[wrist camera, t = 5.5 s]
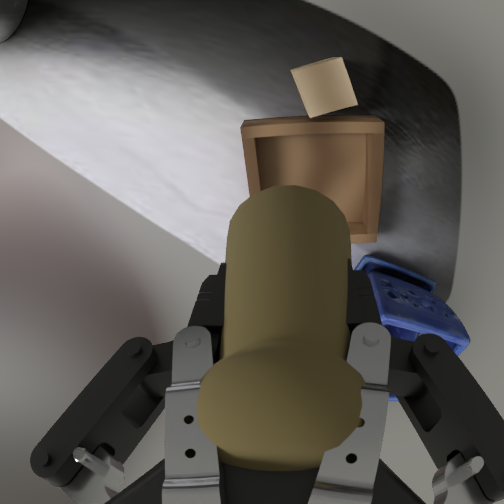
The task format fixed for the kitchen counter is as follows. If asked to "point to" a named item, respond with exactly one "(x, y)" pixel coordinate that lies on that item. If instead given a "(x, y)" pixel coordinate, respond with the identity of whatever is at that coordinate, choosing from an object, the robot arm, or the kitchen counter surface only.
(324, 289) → the cork
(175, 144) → the kitchen counter surface
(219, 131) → the kitchen counter surface
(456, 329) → the flower pot
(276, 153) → the tray
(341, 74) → the beech block
